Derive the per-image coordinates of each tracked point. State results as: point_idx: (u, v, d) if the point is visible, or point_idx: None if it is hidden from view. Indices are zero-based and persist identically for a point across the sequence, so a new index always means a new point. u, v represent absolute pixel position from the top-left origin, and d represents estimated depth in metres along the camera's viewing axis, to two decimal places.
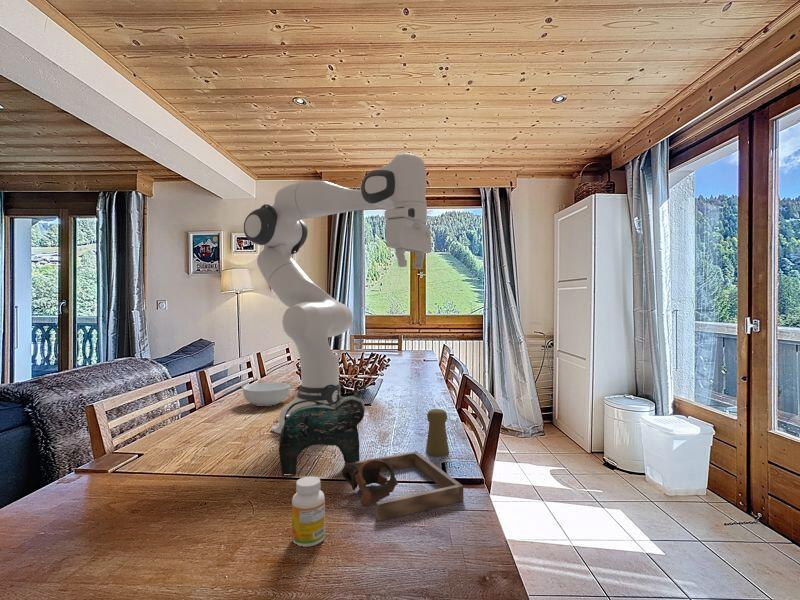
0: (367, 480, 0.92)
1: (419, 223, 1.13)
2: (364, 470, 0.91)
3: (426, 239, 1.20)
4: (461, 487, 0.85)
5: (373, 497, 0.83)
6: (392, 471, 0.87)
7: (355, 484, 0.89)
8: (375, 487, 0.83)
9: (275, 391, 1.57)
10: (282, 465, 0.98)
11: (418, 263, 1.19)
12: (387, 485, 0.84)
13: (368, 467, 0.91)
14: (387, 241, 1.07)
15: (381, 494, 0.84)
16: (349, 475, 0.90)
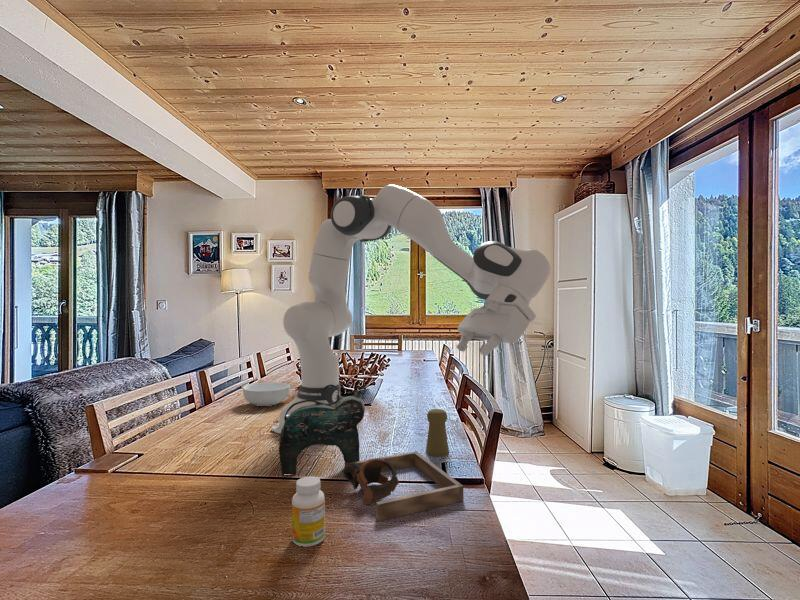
0: (368, 479, 0.92)
1: None
2: (365, 469, 0.91)
3: None
4: (461, 487, 0.85)
5: (375, 496, 0.84)
6: (393, 470, 0.87)
7: (356, 483, 0.90)
8: (377, 486, 0.83)
9: (275, 391, 1.57)
10: (282, 465, 0.98)
11: (465, 346, 1.03)
12: (389, 484, 0.84)
13: (369, 466, 0.91)
14: (508, 330, 0.91)
15: (382, 493, 0.84)
16: (350, 474, 0.90)
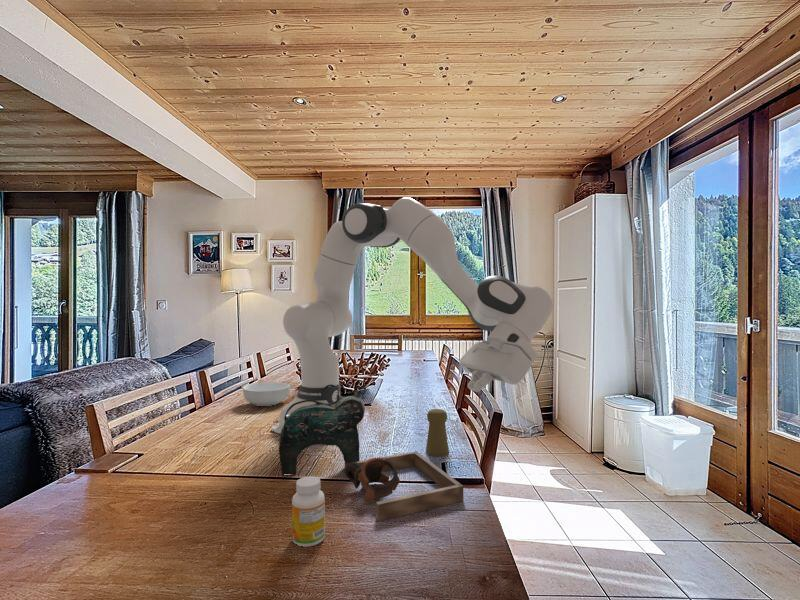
0: (369, 479, 0.93)
1: None
2: (366, 469, 0.92)
3: None
4: (461, 487, 0.85)
5: (376, 495, 0.84)
6: (395, 469, 0.87)
7: (358, 483, 0.90)
8: (378, 485, 0.84)
9: (275, 391, 1.57)
10: (282, 465, 0.98)
11: None
12: (390, 483, 0.85)
13: (370, 466, 0.92)
14: (511, 372, 0.91)
15: (384, 492, 0.84)
16: (352, 474, 0.91)
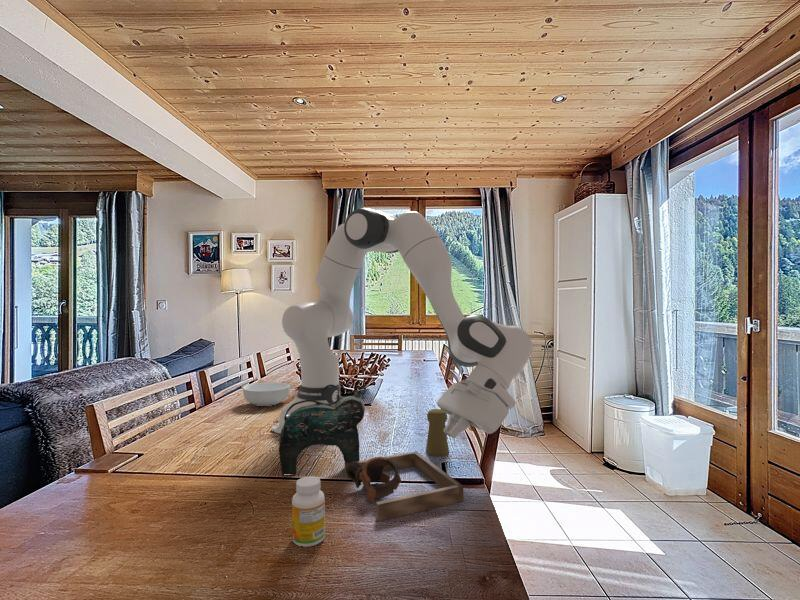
0: (370, 478, 0.93)
1: None
2: (368, 468, 0.92)
3: None
4: (461, 487, 0.85)
5: (378, 494, 0.84)
6: (396, 469, 0.88)
7: (359, 482, 0.90)
8: (380, 485, 0.84)
9: (275, 391, 1.57)
10: (282, 465, 0.98)
11: None
12: (391, 483, 0.85)
13: (372, 465, 0.92)
14: (487, 421, 0.88)
15: (385, 492, 0.85)
16: (353, 473, 0.91)
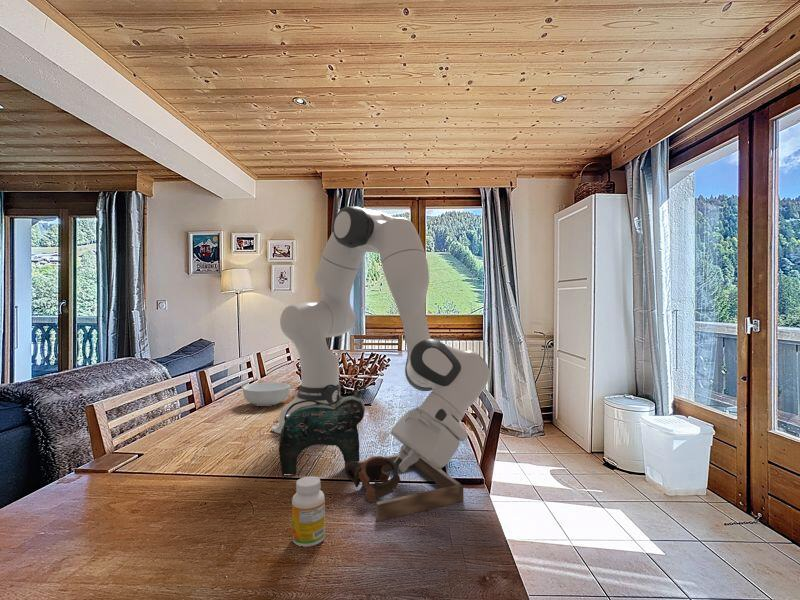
0: (369, 477, 0.93)
1: None
2: (366, 467, 0.92)
3: None
4: (461, 487, 0.85)
5: (377, 494, 0.85)
6: (395, 468, 0.88)
7: (358, 481, 0.90)
8: (379, 484, 0.84)
9: (275, 391, 1.57)
10: (282, 465, 0.98)
11: None
12: (391, 482, 0.85)
13: (370, 464, 0.92)
14: (434, 456, 0.83)
15: (384, 491, 0.85)
16: (352, 472, 0.91)
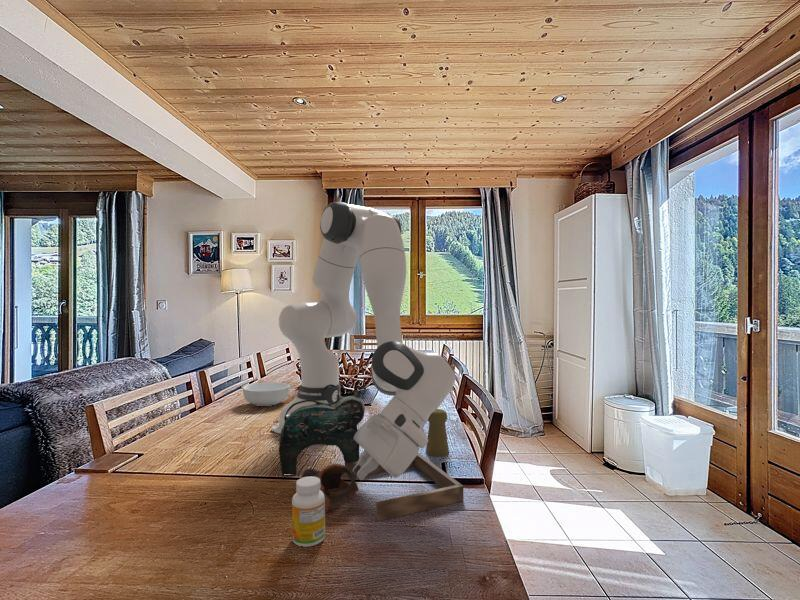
0: (328, 485, 0.90)
1: None
2: (325, 475, 0.88)
3: None
4: (461, 487, 0.85)
5: (331, 504, 0.81)
6: (352, 476, 0.84)
7: None
8: (333, 493, 0.81)
9: (275, 391, 1.57)
10: (282, 465, 0.98)
11: None
12: (346, 491, 0.81)
13: (329, 472, 0.88)
14: (390, 464, 0.80)
15: (339, 501, 0.81)
16: None
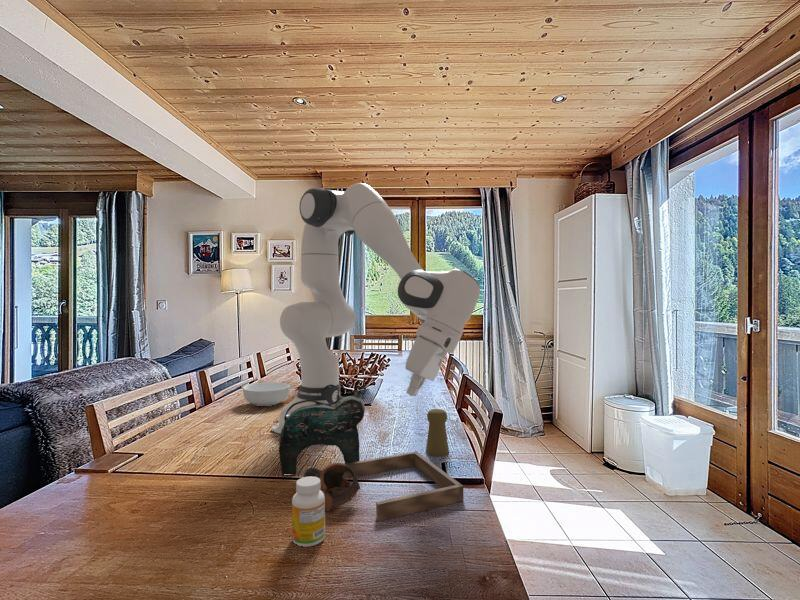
0: (330, 484, 0.90)
1: (445, 353, 0.95)
2: (327, 474, 0.89)
3: (438, 367, 1.02)
4: (461, 487, 0.85)
5: (334, 502, 0.81)
6: (354, 475, 0.85)
7: None
8: (336, 492, 0.81)
9: (275, 391, 1.57)
10: (282, 465, 0.98)
11: None
12: (348, 490, 0.82)
13: (331, 471, 0.89)
14: (408, 362, 0.87)
15: (342, 499, 0.82)
16: None
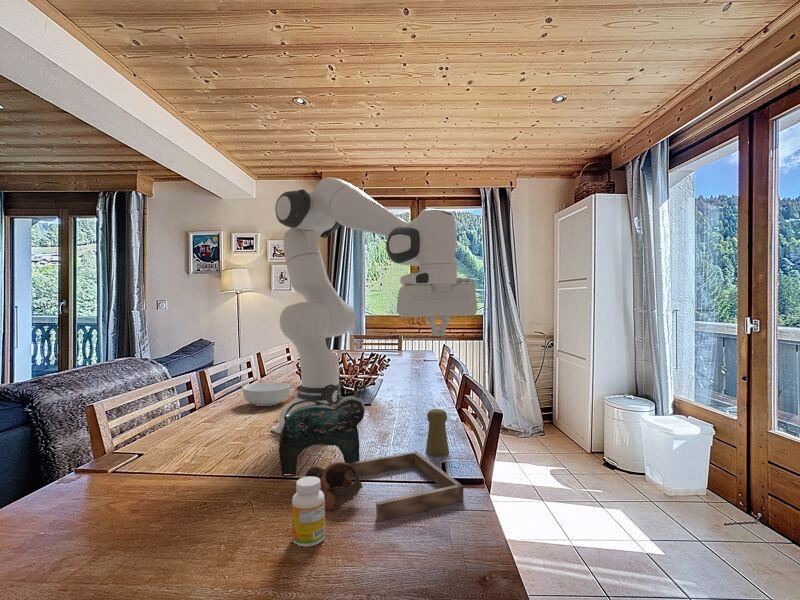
0: (332, 483, 0.91)
1: (442, 287, 1.00)
2: (329, 473, 0.89)
3: (465, 300, 1.04)
4: (461, 487, 0.85)
5: (336, 501, 0.82)
6: (357, 474, 0.85)
7: None
8: (338, 491, 0.82)
9: (275, 391, 1.57)
10: (282, 465, 0.98)
11: None
12: (351, 488, 0.83)
13: (333, 470, 0.90)
14: (397, 311, 1.00)
15: (344, 498, 0.82)
16: None
